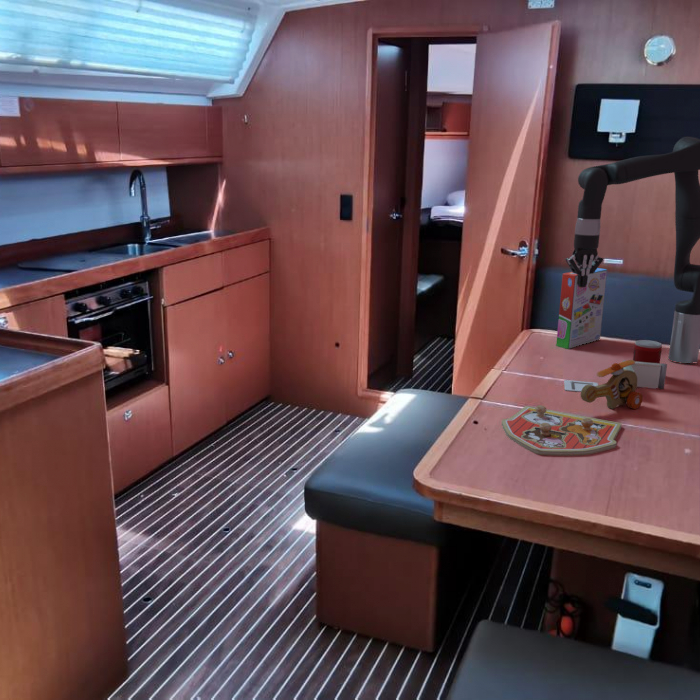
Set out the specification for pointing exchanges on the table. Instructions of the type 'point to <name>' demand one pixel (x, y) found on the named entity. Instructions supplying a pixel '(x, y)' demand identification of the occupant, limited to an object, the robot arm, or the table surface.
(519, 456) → the table surface
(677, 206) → the robot arm
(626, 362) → the toy helicopter
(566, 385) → the card
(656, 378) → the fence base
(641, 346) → the canned food
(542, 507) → the table surface
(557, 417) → the knob puzzle
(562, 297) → the game box
